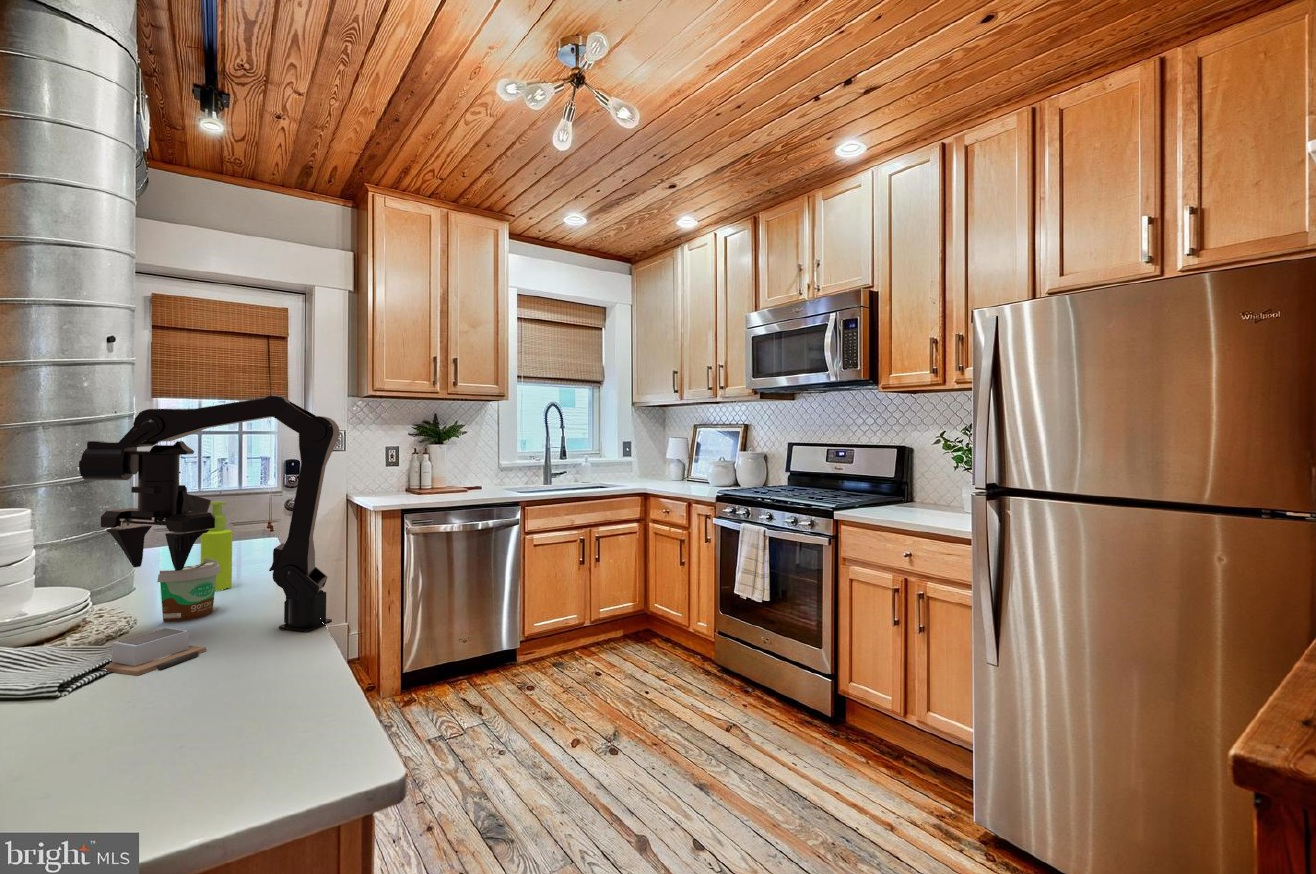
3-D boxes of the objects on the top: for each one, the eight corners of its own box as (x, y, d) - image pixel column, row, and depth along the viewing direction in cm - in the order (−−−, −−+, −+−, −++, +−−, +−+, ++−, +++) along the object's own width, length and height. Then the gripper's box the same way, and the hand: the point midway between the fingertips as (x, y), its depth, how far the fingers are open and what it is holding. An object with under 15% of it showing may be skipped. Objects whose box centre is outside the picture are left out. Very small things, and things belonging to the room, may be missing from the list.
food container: (189, 625, 118) (189, 572, 118) (156, 624, 118) (157, 571, 118) (234, 607, 130) (235, 558, 130) (205, 606, 130) (206, 558, 130)
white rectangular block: (188, 649, 103) (188, 630, 103) (134, 666, 96) (135, 645, 96) (166, 645, 105) (166, 627, 105) (112, 662, 97) (112, 641, 97)
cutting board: (212, 651, 104) (212, 646, 104) (144, 676, 94) (144, 671, 94) (162, 645, 107) (162, 641, 107) (91, 669, 96) (91, 664, 96)
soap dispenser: (189, 590, 142) (190, 502, 142) (222, 584, 148) (223, 499, 148) (204, 594, 139) (205, 504, 139) (236, 587, 146) (238, 501, 145)
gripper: (242, 479, 117) (241, 563, 117) (161, 475, 121) (160, 556, 121) (185, 483, 106) (184, 576, 106) (98, 479, 110) (97, 568, 110)
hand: (157, 568), depth 111 cm, fingers open, 9 cm apart
